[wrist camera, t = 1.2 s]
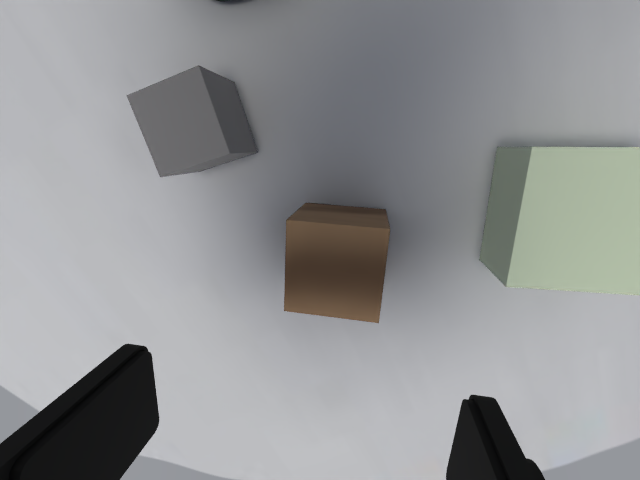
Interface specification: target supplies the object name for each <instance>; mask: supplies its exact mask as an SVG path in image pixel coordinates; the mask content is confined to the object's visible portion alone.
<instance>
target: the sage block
mask: <svg viewBox="0 0 640 480" xmlns="http://www.w3.org/2000/svg"><path fill="white" fill-rule="evenodd" d="M479 260H480V261H481V262H482V263H483V264H484V265H485V266H486V267H487V268H488V269H489V270H490V271H491V272H492V273H493V274H494V275H495V276H496V277H497V278H498V279H499V280H500V281H501V282H502V283H503V284H504V285H505V286H506V287H514V288H530V289H546V290H562V291H578V292H594V293H610V294H625V295H640V147H497V151H496V157H495V163H494V170H493V176H492V182H491V189H490V195H489V201H488V208H487V214H486V220H485V227H484V233H483V239H482V246H481V252H480V259H479Z"/></svg>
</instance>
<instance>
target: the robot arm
mask: <svg viewBox="0 0 640 480" xmlns="http://www.w3.org/2000/svg"><path fill="white" fill-rule="evenodd" d="M158 424H159V413H158V405H157V396H156V388H155V379H154V371H153V362H152V355H151V353H150V352H148V349H147V348H146V347H145V346H139V345H133V344H125V345H123V346H122V347H121V348H119V349H118V350H117V351H116V352H114V353H113V354H112V355H111V356H109V357H108V358H107V359H106V360H104V361H103V362H102V363H101V364H99V365H98V366H97V367H96V368H94V369H93V370H92V371H91V372H89V373H88V374H87V375H86V376H84V377H83V378H82V379H81V380H79V381H78V382H77V383H76V384H74V385H73V386H72V387H71V388H69V389H68V390H67V391H66V392H64V393H63V394H62V395H61V396H59V397H58V398H57V399H56V400H54V401H53V402H52V403H51V404H49V405H48V406H47V407H46V408H44V409H43V410H42V411H41V412H39V413H38V414H37V415H36V416H34V417H33V418H32V419H31V420H29V421H28V422H27V423H26V424H24V425H23V426H22V427H21V428H19V429H18V430H17V431H16V432H14V433H13V434H12V435H11V436H9V437H8V438H7V439H6V440H4V441H3V442H2V443H1V444H0V480H120V478H121V477H122V476H123V474H124V473H125V472H126V470H127V469H128V468H129V466H130V465H131V464H132V462H133V461H134V460H135V458H136V457H137V456H138V454H139V453H140V452H141V450H142V449H143V448H144V446H145V445H146V444H147V442H148V441H149V440H150V438H151V437H152V436H153V435H154V433H155V432H156V430H157V427H158ZM446 480H545V479H544V477H543V475H542V473H541V471H540V469H539V468H538V466H537V465H536V463H534V462H533V461H532V460H531V459H526V458H525V456H524V454H523V452H522V450H521V448H520V446H519V444H518V442H517V440H516V438H515V436H514V434H513V432H512V430H511V428H510V426H509V424H508V422H507V420H506V418H505V416H504V414H503V412H502V410H501V408H500V406H499V404H498V402H497V401H496V399H494V398H492V397H485V396H478V395H471V396H470V397H469V400H466V399H464V400H463V401H462V405H461V409H460V414H459V418H458V423H457V427H456V432H455V436H454V440H453V445H452V449H451V454H450V458H449V463H448V467H447V473H446Z"/></svg>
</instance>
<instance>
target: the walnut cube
mask: <svg viewBox="0 0 640 480" xmlns="http://www.w3.org/2000/svg"><path fill="white" fill-rule="evenodd" d="M389 235H390V226H389V222H388V218H387V214H386V209H376V208H364V207H352V206H340V205H327V204H315V203H305V204H304V205H303V206H302V207H300V208H299V209H298V210H297V211H296V212H295V213H294V214H292V215H291V216H290V217H289V218H288V219H287V220H286V255H285V297H284V311H289V312H297V313H305V314H312V315H320V316H328V317H336V318H344V319H352V320H359V321H367V322H375V323H379V316H380V308H381V300H382V292H383V284H384V276H385V268H386V260H387V252H388V244H389Z"/></svg>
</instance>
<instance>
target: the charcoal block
mask: <svg viewBox="0 0 640 480" xmlns="http://www.w3.org/2000/svg"><path fill="white" fill-rule="evenodd" d="M127 97H128V100H129V102H130V105H131V107H132V110H133V112H134V114H135V117H136V119H137V122H138V124H139V127H140V129H141V131H142V134H143V136H144V139H145V141H146V144H147V146H148V148H149V151H150V153H151V156H152V158H153V160H154V163H155V165H156V168H157V170H158V173H159V175H160V177H165V176H172V175H179V174H186V173H193V172H200V171H203V170H206V169H209V168H212V167H215V166H218V165H221V164H224V163H227V162H230V161H233V160H236V159H239V158H242V157H245V156H248V155H251V154H254V153H257V152H258V151H257V148H256V145H255V142H254V139H253V136H252V133H251V130H250V127H249V124H248V121H247V118H246V115H245V112H244V109H243V106H242V103H241V100H240V97H239V94H238V91H237V89H236V86H235V83H234V82H233V81H230V80H228V79H226V78H224V77H222V76H220V75H218V74H216V73H214V72H211V71H209V70H207V69H205V68H203V67H201V66H196V67H194V68H191V69H189V70H187V71H184V72H182V73H179V74H177V75H175V76H172V77H170V78H167V79H165V80H163V81H160V82H158V83H156V84H153V85H151V86H148V87H146V88H144V89H141V90H139V91H136V92H134V93H132V94H129V95H127Z"/></svg>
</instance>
